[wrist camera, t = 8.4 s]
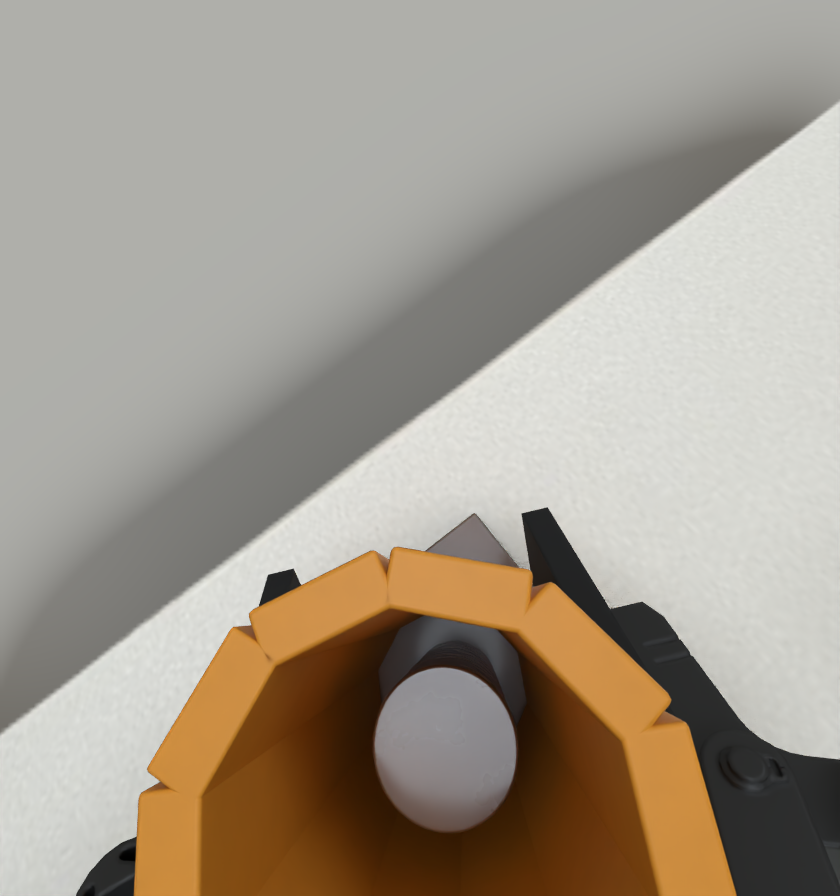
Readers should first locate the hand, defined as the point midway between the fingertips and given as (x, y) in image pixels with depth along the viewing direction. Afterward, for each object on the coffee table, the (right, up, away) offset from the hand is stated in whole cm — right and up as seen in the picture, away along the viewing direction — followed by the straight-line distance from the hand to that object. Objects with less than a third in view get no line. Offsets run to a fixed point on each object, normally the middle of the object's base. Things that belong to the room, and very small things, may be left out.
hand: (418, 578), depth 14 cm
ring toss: (+1, -5, +4) cm, 7 cm away
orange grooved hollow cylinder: (+1, -5, +3) cm, 5 cm away
